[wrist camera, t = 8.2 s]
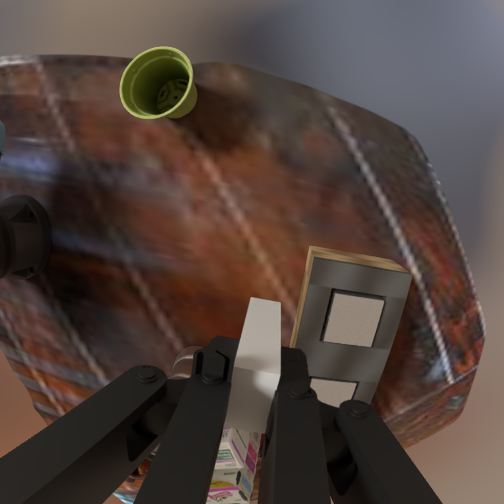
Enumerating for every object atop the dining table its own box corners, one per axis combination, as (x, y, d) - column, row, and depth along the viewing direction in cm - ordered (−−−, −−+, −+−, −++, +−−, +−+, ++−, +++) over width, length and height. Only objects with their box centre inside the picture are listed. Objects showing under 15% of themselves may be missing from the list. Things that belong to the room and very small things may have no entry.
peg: (318, 316, 44) (323, 341, 36) (327, 275, 42) (335, 293, 35) (359, 322, 43) (370, 347, 36) (369, 282, 42) (384, 300, 35)
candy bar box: (251, 413, 49) (237, 486, 33) (262, 432, 50) (252, 504, 34) (194, 424, 51) (167, 491, 35) (206, 443, 52) (184, 509, 36)
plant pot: (219, 76, 40) (204, 53, 31) (196, 137, 42) (175, 126, 33) (161, 64, 40) (136, 42, 32) (138, 121, 42) (109, 110, 34)
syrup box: (244, 379, 48) (228, 441, 34) (255, 406, 49) (244, 470, 35) (210, 384, 49) (186, 444, 35) (223, 411, 50) (204, 472, 36)
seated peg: (300, 383, 47) (301, 413, 39) (309, 351, 45) (312, 378, 38) (337, 388, 46) (343, 417, 39) (348, 356, 45) (356, 383, 38)
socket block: (277, 395, 48) (275, 427, 40) (309, 245, 43) (314, 258, 35) (349, 404, 47) (356, 435, 39) (392, 260, 42) (412, 274, 34)
